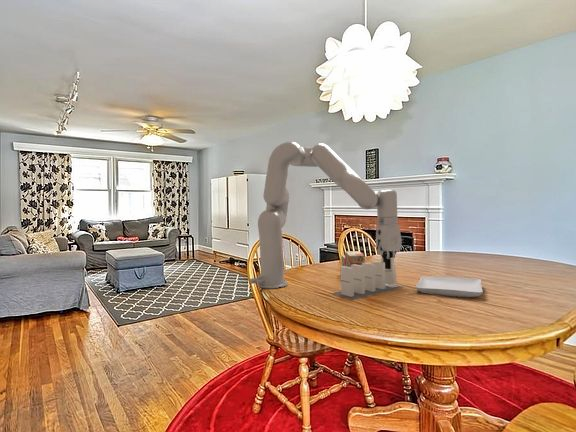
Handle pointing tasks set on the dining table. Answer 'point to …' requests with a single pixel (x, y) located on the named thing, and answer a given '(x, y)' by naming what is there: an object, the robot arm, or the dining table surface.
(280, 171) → the robot arm
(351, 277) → the domino
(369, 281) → the domino
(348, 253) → the cardboard box
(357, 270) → the domino
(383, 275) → the domino
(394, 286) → the domino mat
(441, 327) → the dining table surface
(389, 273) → the domino
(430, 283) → the salad plate
